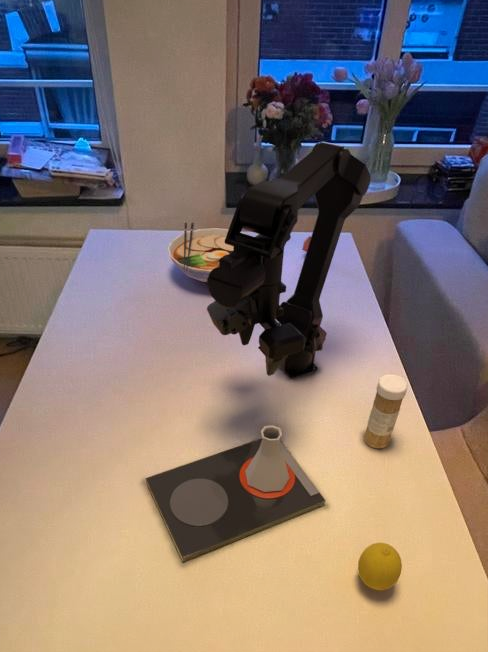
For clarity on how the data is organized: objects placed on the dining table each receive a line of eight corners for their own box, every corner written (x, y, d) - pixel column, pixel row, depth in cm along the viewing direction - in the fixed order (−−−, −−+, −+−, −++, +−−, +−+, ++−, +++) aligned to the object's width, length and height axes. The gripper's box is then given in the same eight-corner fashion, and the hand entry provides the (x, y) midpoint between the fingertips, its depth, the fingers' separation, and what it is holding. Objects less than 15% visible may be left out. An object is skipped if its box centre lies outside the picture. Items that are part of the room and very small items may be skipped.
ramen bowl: (260, 301, 125) (262, 270, 120) (164, 300, 125) (162, 269, 120) (257, 252, 143) (258, 223, 138) (173, 251, 143) (171, 222, 138)
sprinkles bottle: (378, 428, 95) (395, 370, 86) (394, 444, 92) (414, 386, 83) (357, 435, 94) (373, 377, 84) (373, 453, 91) (391, 394, 81)
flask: (286, 496, 82) (293, 454, 75) (241, 489, 83) (243, 446, 76) (291, 462, 87) (298, 419, 80) (248, 455, 88) (251, 412, 81)
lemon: (349, 565, 75) (359, 533, 69) (386, 562, 75) (400, 530, 70) (359, 601, 71) (371, 571, 65) (399, 598, 71) (414, 568, 66)
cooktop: (274, 438, 93) (275, 432, 92) (324, 504, 83) (325, 499, 82) (146, 482, 86) (145, 476, 85) (182, 562, 75) (182, 556, 74)
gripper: (189, 260, 83) (192, 341, 93) (242, 321, 70) (239, 406, 81) (252, 246, 86) (248, 326, 97) (313, 302, 74) (301, 386, 85)
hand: (257, 359), depth 90 cm, fingers open, 9 cm apart
